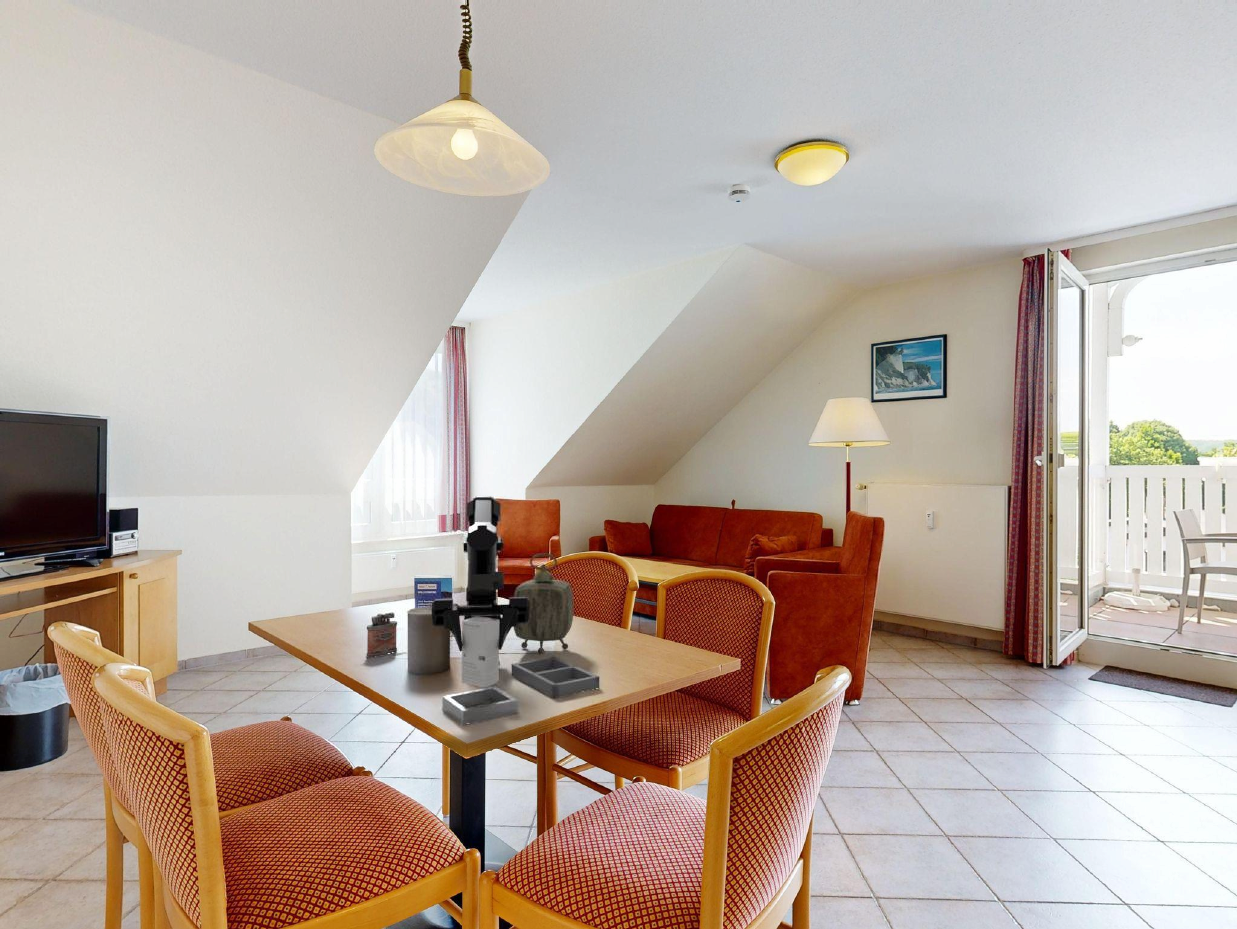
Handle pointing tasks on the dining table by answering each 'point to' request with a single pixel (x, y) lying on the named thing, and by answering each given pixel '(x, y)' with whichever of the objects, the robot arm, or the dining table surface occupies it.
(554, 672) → the rack
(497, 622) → the skincare box
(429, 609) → the pillar candle
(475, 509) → the robot arm
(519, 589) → the tabletop clock
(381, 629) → the lighter
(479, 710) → the socket
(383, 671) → the dining table surface
